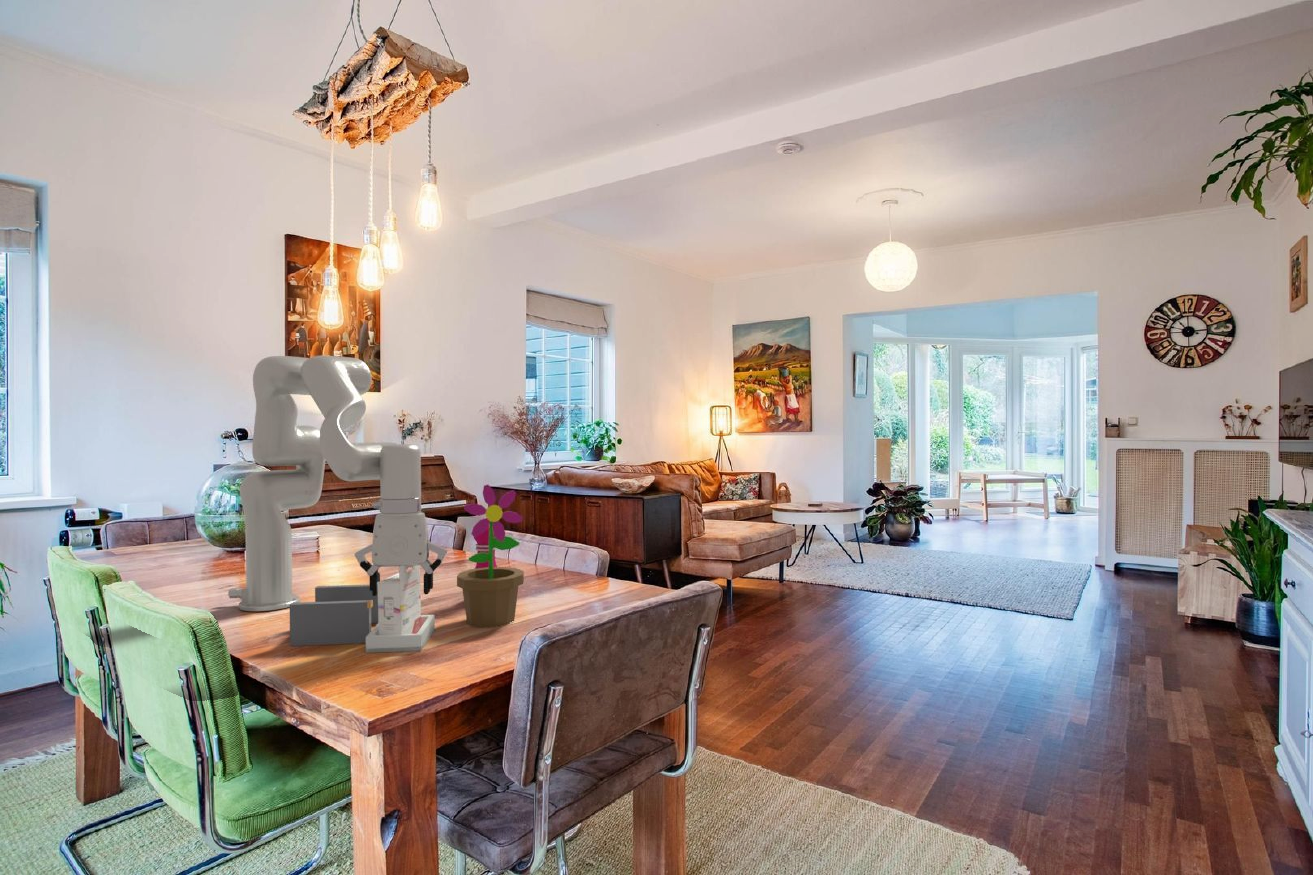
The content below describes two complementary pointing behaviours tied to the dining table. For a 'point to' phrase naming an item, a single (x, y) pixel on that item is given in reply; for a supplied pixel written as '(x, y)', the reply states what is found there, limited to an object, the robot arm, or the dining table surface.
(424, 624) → the tray
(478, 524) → the flowerpot
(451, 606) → the dining table surface
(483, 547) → the pepper mill
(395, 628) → the ink cartridge box
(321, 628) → the bay
